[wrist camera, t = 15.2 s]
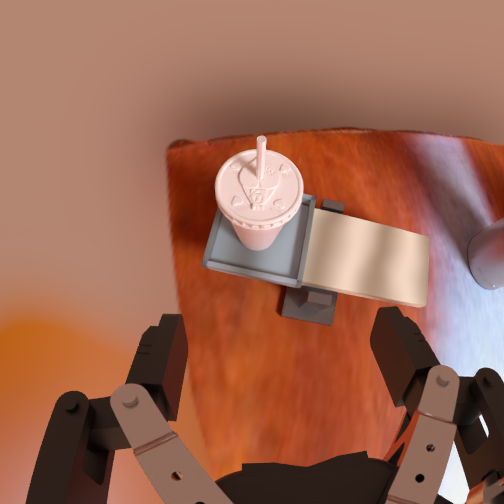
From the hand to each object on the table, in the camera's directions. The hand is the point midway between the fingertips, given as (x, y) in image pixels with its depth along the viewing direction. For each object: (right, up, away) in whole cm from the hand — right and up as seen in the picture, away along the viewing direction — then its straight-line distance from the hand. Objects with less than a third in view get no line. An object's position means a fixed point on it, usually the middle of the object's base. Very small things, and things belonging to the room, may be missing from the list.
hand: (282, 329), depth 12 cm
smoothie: (-1, +5, +19) cm, 19 cm away
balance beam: (+7, +3, +20) cm, 21 cm away
